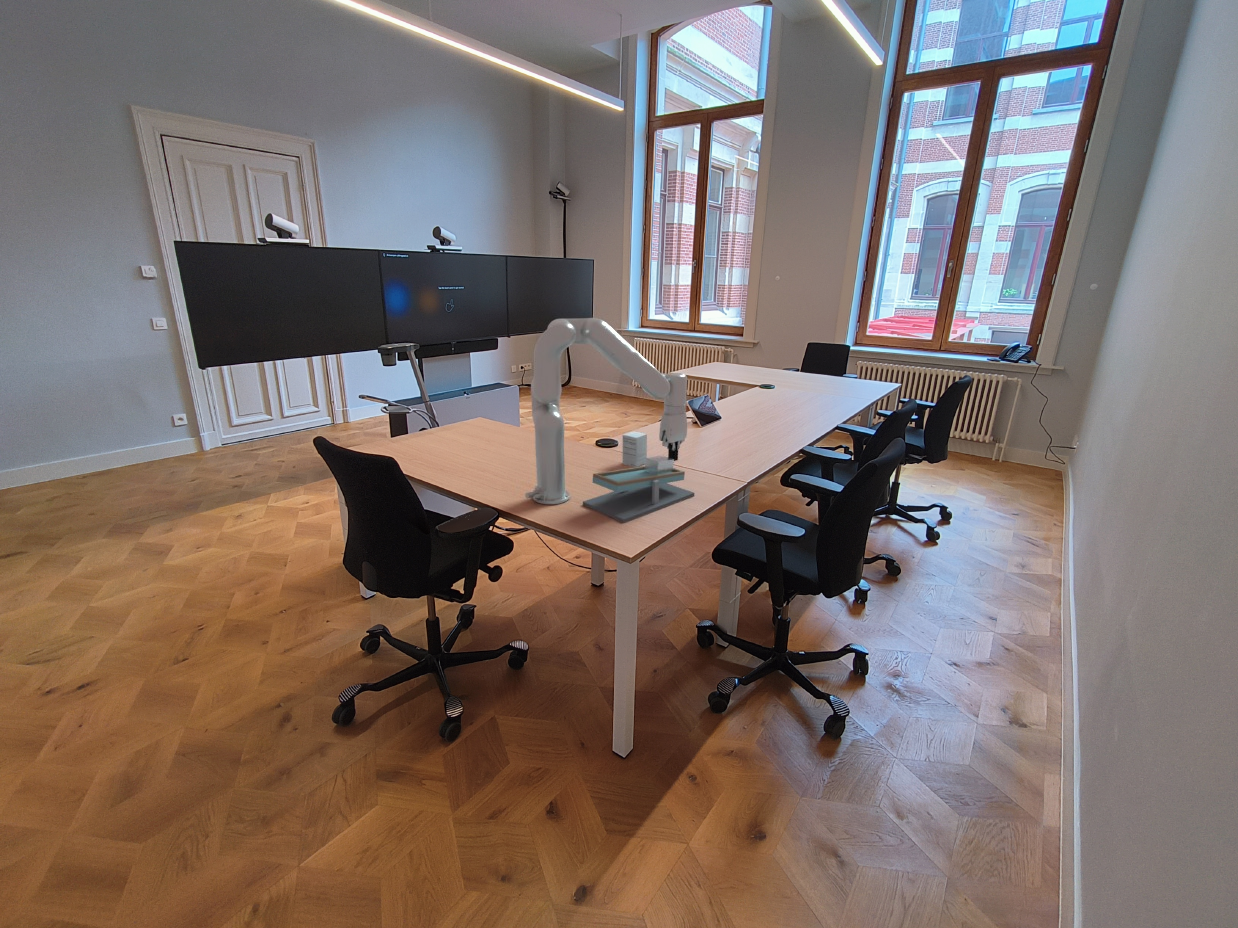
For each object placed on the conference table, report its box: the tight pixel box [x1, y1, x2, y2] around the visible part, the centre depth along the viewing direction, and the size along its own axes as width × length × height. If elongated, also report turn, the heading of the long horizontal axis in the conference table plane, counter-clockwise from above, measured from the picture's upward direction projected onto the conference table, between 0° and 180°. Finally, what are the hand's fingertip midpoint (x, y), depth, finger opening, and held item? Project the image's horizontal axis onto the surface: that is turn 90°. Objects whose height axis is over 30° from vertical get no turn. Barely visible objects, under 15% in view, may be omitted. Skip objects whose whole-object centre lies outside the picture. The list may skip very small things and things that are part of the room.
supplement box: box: [622, 431, 648, 468], centre depth 228 cm, size 7×7×13 cm
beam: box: [592, 465, 686, 492], centre depth 189 cm, size 32×12×3 cm, turn 133°
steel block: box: [644, 455, 675, 475], centre depth 195 cm, size 8×6×5 cm
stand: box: [582, 480, 695, 524], centre depth 190 cm, size 34×20×9 cm, turn 133°
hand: (672, 459), depth 199 cm, fingers closed
